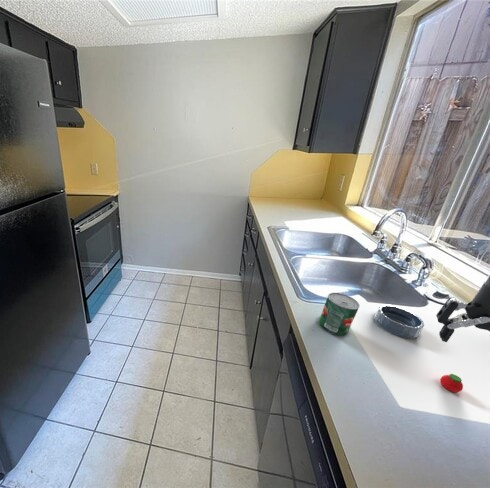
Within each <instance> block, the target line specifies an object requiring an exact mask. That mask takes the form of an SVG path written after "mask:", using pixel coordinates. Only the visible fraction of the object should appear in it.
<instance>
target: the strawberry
mask: <svg viewBox="0 0 490 488" xmlns="http://www.w3.org/2000/svg"><path fill="white" fill-rule="evenodd" d="M462 381H463V379H462V378H461V377H460V376H458V375H457V374H454V373H449V374H444V375H442V376H441V377H440V385H441V386H442V387H443V388H444V389H446V390H447V391H449V392H452V393H459V392H461V391H463V389H464V384H463V382H462Z"/></svg>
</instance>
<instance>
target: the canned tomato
mask: <svg viewBox="0 0 490 488" xmlns="http://www.w3.org/2000/svg"><path fill="white" fill-rule="evenodd" d="M359 308H360V303H359V302H358V301H357V299H355V298H353V297H352V296H350V295H348V294H344V293H341V292H330V293H328V295H327V297H326V301H325V303H324V306H323V309H322V311H321V314H320V316H319V319H318V325H319V326H320V327H321V329H323V330H324V331H325V332H327V333H330V334H332V335H333V336H338V337H341V336H342V337H343V336H346V335H347V334H348V332H349V330H350V329H351V326H352V324H353V322H354V319H355V318H356V315H357V313H358V311H359Z"/></svg>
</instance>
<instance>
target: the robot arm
mask: <svg viewBox="0 0 490 488" xmlns="http://www.w3.org/2000/svg"><path fill="white" fill-rule="evenodd" d="M462 309H463V310H464V311H465V312H464V313H459V314H457V315H456V316H454V317H451V315H452V314H453V313H454V312H456V311H457V312H458V311H460V310H462ZM435 317H436V318H437V322H438V323H439V324H442V325H443V326H442V327H441V329H440V330H439V333H438V335H439V338H440V339H441V342H444V343H448V341H449V340H450V338H451V337H452V336H453V334H454V333H455V329H459V328H469V327H472V326H474V328H477V329H480V330H484V331H488V332H490V273H489V274H488V276H487V277H486V279H485V281H484V282H483V283H482V284H481V286H480V288H479V289H478V291H477V292H476V293H475V295H474V297H473V298H472V300H471V301H470V302H467V303H466V302H462V301H460V300H457V299H456V298H455V297H453V296H450V297H449V298H447V300H446V301H445V302H444V304H443V305H442V307H441V308H440V309H439V311H438V312H437V313H436V315H435Z"/></svg>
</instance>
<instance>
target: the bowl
mask: <svg viewBox="0 0 490 488" xmlns="http://www.w3.org/2000/svg"><path fill="white" fill-rule="evenodd" d="M373 319H374V322H375V323H376V324H377V325H378V326H379V327H380V328H381V329H383V330H384V331H386V332H387V333H390V334H391V335H394V336H397V337H400V338H404V339H417V338H418V337H419V335H420V333H421V332H422V331H423V328H424V327H425V323H424V321H423V319H422V318H421V317H419V316H418V315H417V314H415V313H413V312H411V311H410V310H408V309H406V308H402V307H399V306H397V305H392V304H381V305H380V306H378V307H377V310H376V312H375V315H374V317H373ZM397 321H398V322H397Z"/></svg>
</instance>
